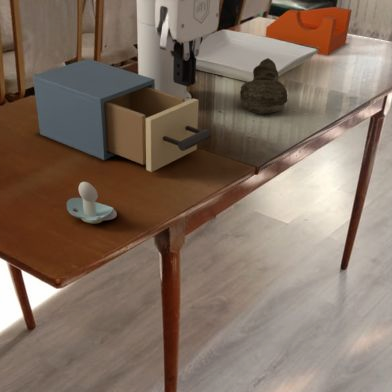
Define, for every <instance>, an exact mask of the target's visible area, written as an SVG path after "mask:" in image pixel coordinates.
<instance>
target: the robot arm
mask: <svg viewBox="0 0 392 392" xmlns="http://www.w3.org/2000/svg"><path fill="white" fill-rule="evenodd" d="M135 2H136V27H137V29H136V31H137V33H136V34H137V72H138V73H137V74H139V75H142V76H145V77H149V78H152V79H154V80H155V83H154V84H155V89H156V90H159V91H162V92H166V93H169V94H172V95H175V96H178V97H181V98H184V99H185V102H186V101H188V100H191V99H192V94H191V93H190V92H189V91H188V90H187V88H188V87H190V86H193V85H195V84H196V82H197V81H198V77H197V69H196V58H195V57H197V56H198V55H199V49H200V44H201V42H202V41H203V40H204V39H205V38H207V37H208V36H209V35H210V34H213V33H215V32H216V31H217V29H218V27H219V18H220V17H219V16H220V0H136V1H135Z"/></svg>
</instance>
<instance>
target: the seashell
mask: <svg viewBox="0 0 392 392" xmlns="http://www.w3.org/2000/svg"><path fill="white" fill-rule="evenodd" d="M253 75H254V77H253V78H254V79H253V81H250V82H247V81H246V82H245V83H243V84H242V85H241V87H240V91H239V97H240V98H239V100H240V102H241V105H242V106H243V107H244V108H246V109H247V110H248V111H250V112H252V113H254V114H258V115H263V114H271V113H274V112H275V113H276V112H279V111H280V110H281V109H282V108H283V107H284V106H285V105H286V103H287V102H288V90H287V88H286V87H285V85H284V84H283V83H282V82H280V80H279V77H280V76H278V71H277V69H276V66H275V63H274V62H273V61H272V60H270V59H269V58H267V59H265V60H263V61H262V62H261V63H260V65H258V66H256V67H255V68H254V70H253Z"/></svg>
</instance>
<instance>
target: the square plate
mask: <svg viewBox="0 0 392 392" xmlns="http://www.w3.org/2000/svg"><path fill="white" fill-rule="evenodd" d="M317 53H318V49H317V48H316V47H311V46H307V45H302V44H298V43H294V42H289V41H284V40H277V39H273V38H269V37H266V36H264V35H258V34H254V33H247V32H242V31H236V30H230V29H221V30H218V31H214V32H213V33H211V34H209V36H208V37H207V38H205V39H204V40H203V41H202V42H201V44H200V49H199V55H198V56H197V57H195V58H196V70H198V71H202V72H205V73H210V74H213V75H218V76H223V77H226V78H230V79H235V80H238V81H243V82H246V83H247V82H250V81H253V79H254V78H253V77H254V75H253V70H254V68H255V67H256V66H258V65H260V63H261V62H262V61H263V60H265V59H267V58H269V59H270V60H272V61H273V62H274V63H275V66H276V69H277V71H278V76H279V77H280V76H282V75H283V74H285V73H287V72H289V71H290V70H292V69H294V68H296V67H298V66H300V65H303V64H304V63H305V62H308V61H309V60H310V59H312V58H313V57H314V56H315V55H316V54H317Z"/></svg>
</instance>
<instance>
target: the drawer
mask: <svg viewBox="0 0 392 392" xmlns="http://www.w3.org/2000/svg"><path fill="white" fill-rule="evenodd" d="M199 102H200V101H199V99H196V98H194V97H193V98H191V100H188V101H186V102H185V99H184V98H181V97H178V96H175V95H172V94H169V93H166V92H162V91H159V90H156V89H153V88H150V87H144V88H142V89H139V90H136V91H134V92H131V93H128V94H126V95H123V96H120V97H117V98H115V99H112V100H109V101H107V102H104V110H105V127H106V144H107V151H109V152H112V153H114V154H117V155H116V156H120V157H122V158H124V159H127V160H130V161H131V162H135V163H137V164H140V165H141V166H143V165H145V170H146V171H148V172H150V173H153V172H155V171H157V170H159V169H161V168H162V167H165V166H167V165H169V164H170V163H173V162H175V161H178V160H179V159H181V158H182V157H184V156H186V155H189V154H190V153H192V152H194V151H197V149H198V145H199V144H200V143H201V144H202V143H203V142H205V141H207V140H209V139H211V137H212V131H211V130H210V129H209V128H205V129H203V130H202V129H199V128H198V125H199Z"/></svg>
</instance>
